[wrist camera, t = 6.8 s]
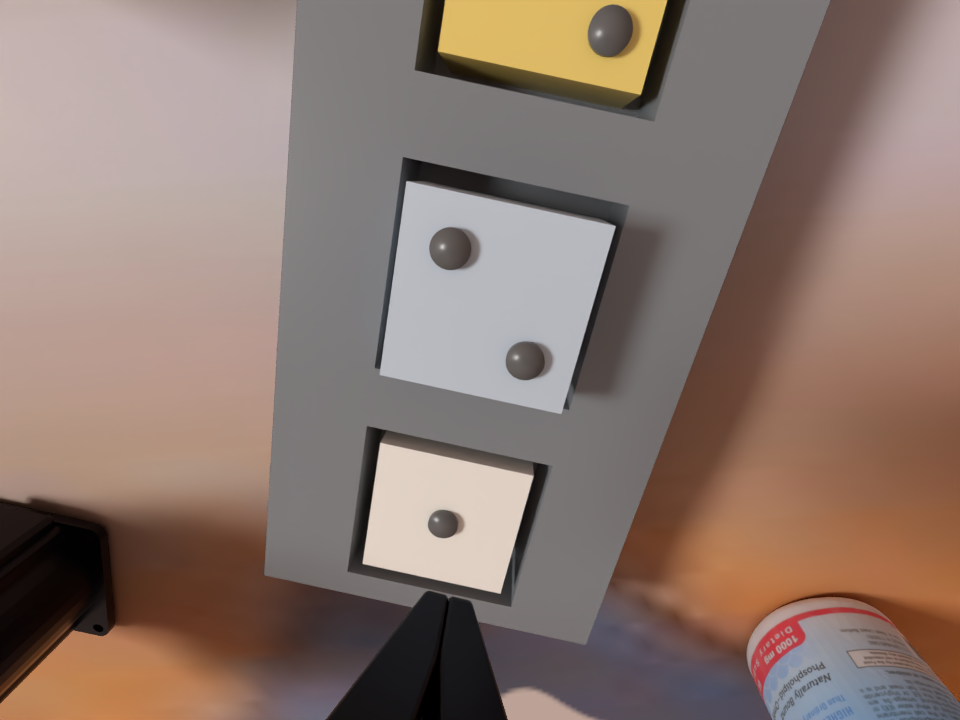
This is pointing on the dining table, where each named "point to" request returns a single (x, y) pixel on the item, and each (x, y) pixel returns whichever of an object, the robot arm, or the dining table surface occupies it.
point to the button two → (491, 294)
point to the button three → (554, 45)
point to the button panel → (531, 179)
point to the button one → (445, 511)
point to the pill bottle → (842, 666)
